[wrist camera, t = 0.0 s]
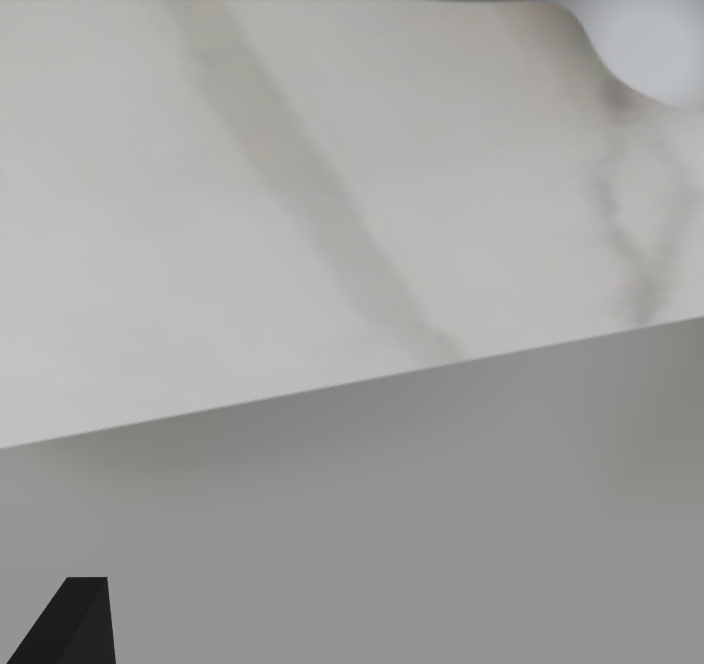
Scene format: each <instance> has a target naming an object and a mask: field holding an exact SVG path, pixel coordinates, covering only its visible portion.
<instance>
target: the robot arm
mask: <svg viewBox="0 0 704 664" xmlns="http://www.w3.org/2000/svg"><path fill="white" fill-rule="evenodd" d="M7 664H116V660H115V650H114V640H113V630H112V620H111V610H110V601H109V591H108V581H107V577H68V578H66V580H65V581H64V583H63V584H62V585H61V587H60V588H59V590H58V591H57V593H56V594H55V595H54V597H53V598H52V600H51V601H50V603H49V604H48V605H47V607H46V608H45V610H44V611H43V613H42V614H41V615H40V617H39V618H38V620H37V621H36V622H35V624H34V625H33V627H32V628H31V630H30V631H29V633H28V634H27V635H26V637H25V638H24V640H23V641H22V642H21V644H20V645H19V647H18V648H17V650H16V651H15V652H14V654H13V655H12V657H11V658H10V660H9V661H8V662H7Z"/></svg>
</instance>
